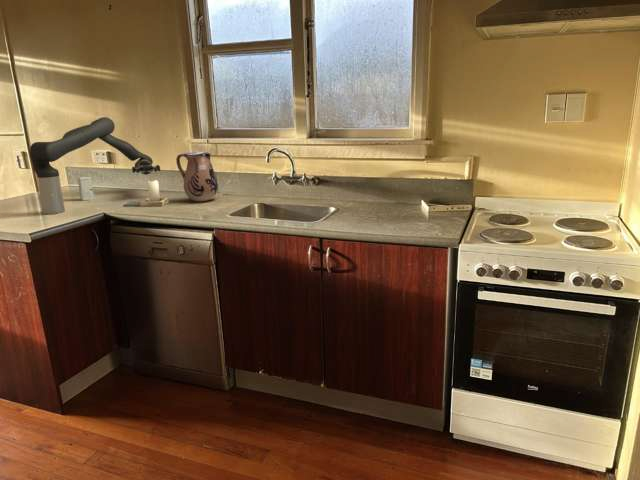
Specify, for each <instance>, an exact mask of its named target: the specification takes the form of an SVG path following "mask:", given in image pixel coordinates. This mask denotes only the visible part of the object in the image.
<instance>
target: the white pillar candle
mask: <svg viewBox="0 0 640 480" xmlns="http://www.w3.org/2000/svg"><path fill="white" fill-rule="evenodd" d="M146 181H147V180H146ZM159 187H160V186H159V181H158V180H156V179H153V180H152V179H151V180H148V181H147V192H148V198H149V201H150V202H155V201H160V198H161V195H160V188H159Z"/></svg>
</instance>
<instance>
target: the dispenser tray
mask: <svg viewBox="0 0 640 480" xmlns="http://www.w3.org/2000/svg"><path fill="white" fill-rule="evenodd" d="M141 201H142V202H140V206H139V207H142V208H143V207H163V206H165V205H167V204H169V203H170V197H160V201H155V202H150V201H149V197H148V198H146V199H144V200H141Z"/></svg>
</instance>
